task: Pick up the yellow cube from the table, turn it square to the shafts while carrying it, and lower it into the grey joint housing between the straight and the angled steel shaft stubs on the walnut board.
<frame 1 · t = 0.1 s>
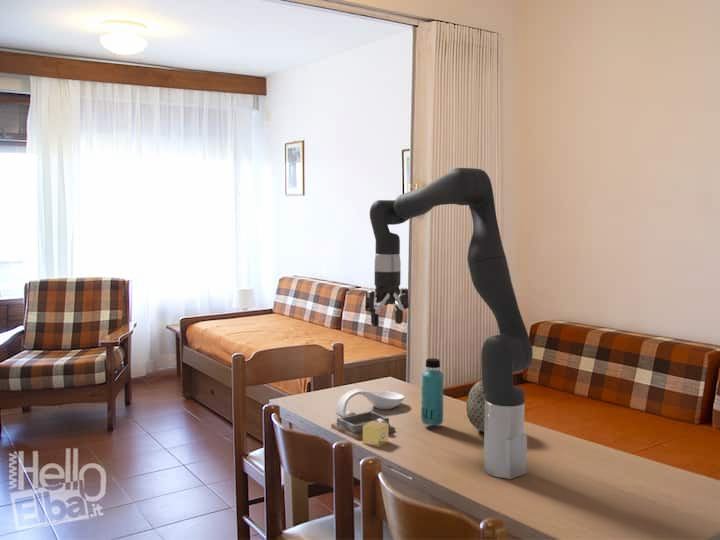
hand: (387, 324, 192), 29 cm above the table, tool pointing down, fingers open, 8 cm apart
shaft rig: (362, 429, 189), on the table
yellow cube: (375, 442, 178), on the table
beverage bottle: (432, 427, 191), on the table
spoon rest: (370, 410, 208), on the table
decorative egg: (486, 432, 187), on the table
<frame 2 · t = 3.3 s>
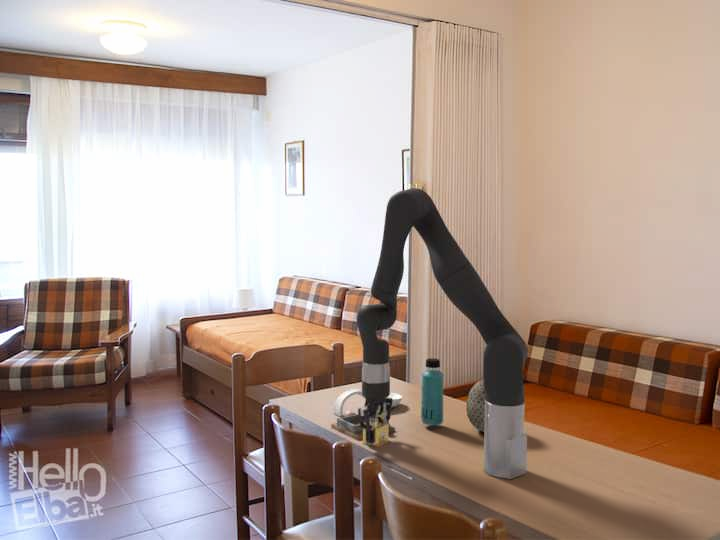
hand: (375, 439, 178), 1 cm above the table, tool pointing down, fingers closed on yellow cube, 5 cm apart
yellow cube: (375, 442, 178), on the table, touching gripper
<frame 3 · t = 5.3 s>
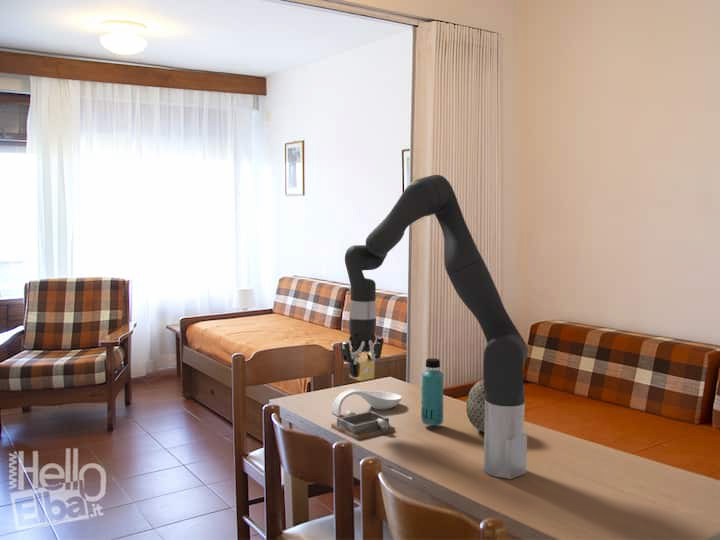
hand: (361, 375, 187), 16 cm above the table, tool pointing down, fingers closed on yellow cube, 5 cm apart
yellow cube: (361, 377, 187), point 15 cm above the table, touching gripper
when the fingers open (3 cm above the table, at t = 7.4 s): yellow cube drops 1 cm, resting on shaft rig.
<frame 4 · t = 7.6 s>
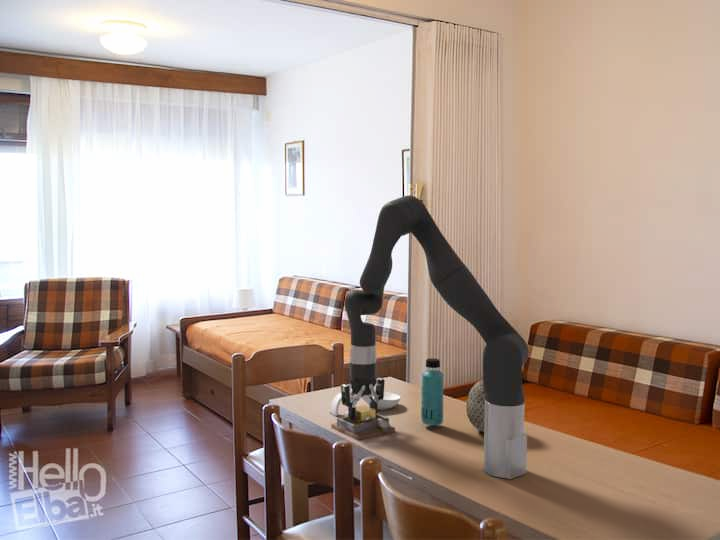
hand: (363, 417, 188), 4 cm above the table, tool pointing down, fingers open, 6 cm apart
yellow cube: (363, 425, 188), point 1 cm above the table, touching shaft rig
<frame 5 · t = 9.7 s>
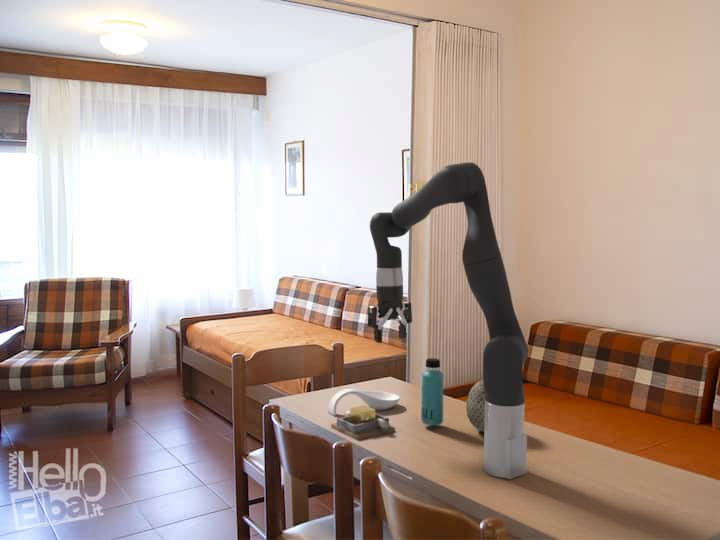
hand: (390, 340, 187), 26 cm above the table, tool pointing down, fingers open, 8 cm apart
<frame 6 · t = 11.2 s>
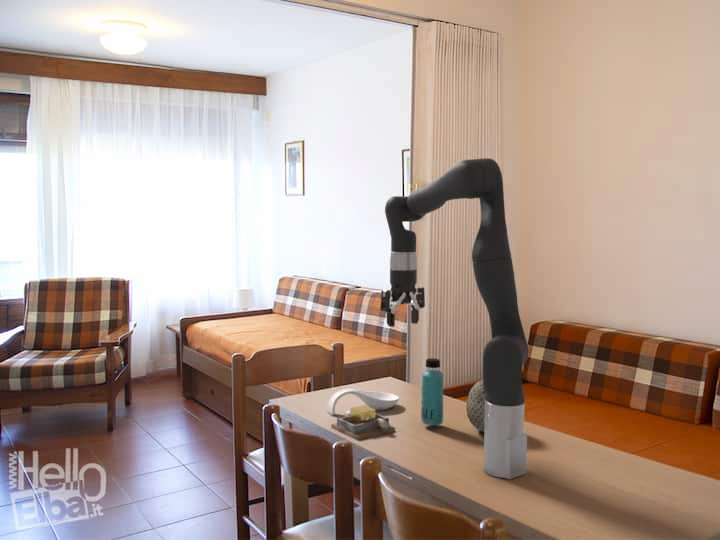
hand: (402, 324, 187), 30 cm above the table, tool pointing down, fingers open, 8 cm apart
at the end: yellow cube 0.0 cm off-centre on the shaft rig, point 1.0 cm above the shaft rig's base; yellow cube tilted 0°; the gripper is holding nothing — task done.
